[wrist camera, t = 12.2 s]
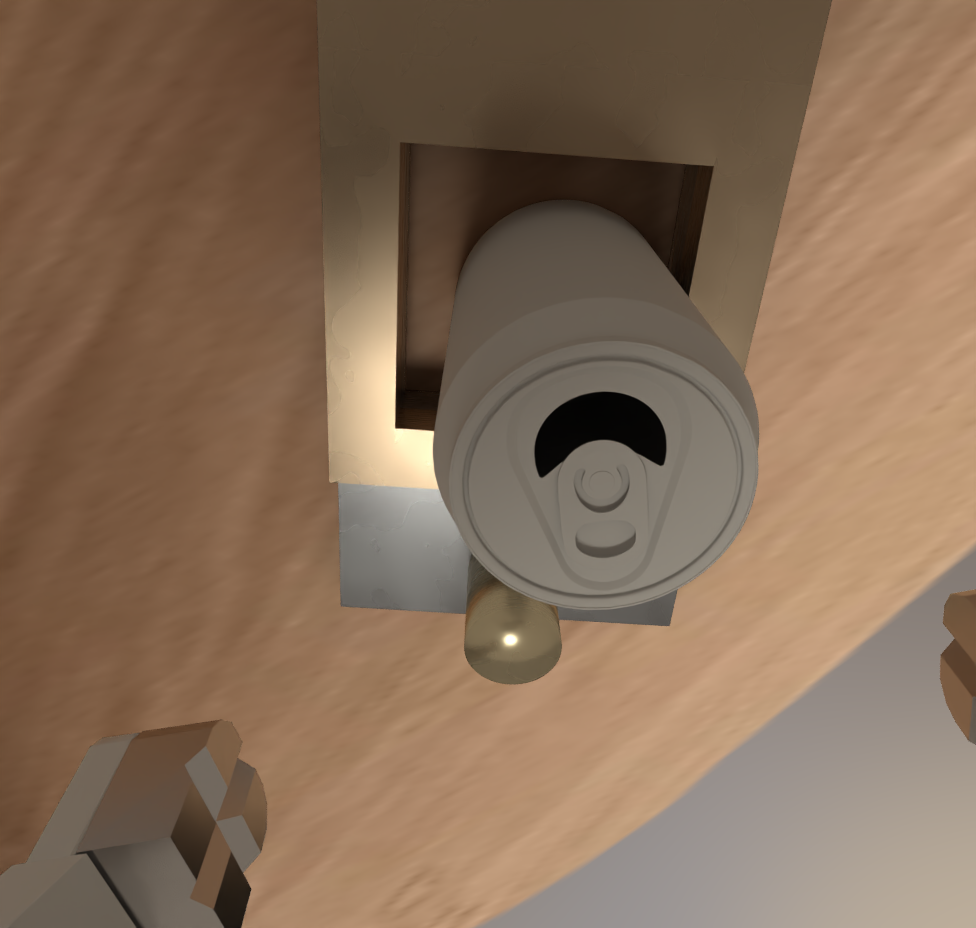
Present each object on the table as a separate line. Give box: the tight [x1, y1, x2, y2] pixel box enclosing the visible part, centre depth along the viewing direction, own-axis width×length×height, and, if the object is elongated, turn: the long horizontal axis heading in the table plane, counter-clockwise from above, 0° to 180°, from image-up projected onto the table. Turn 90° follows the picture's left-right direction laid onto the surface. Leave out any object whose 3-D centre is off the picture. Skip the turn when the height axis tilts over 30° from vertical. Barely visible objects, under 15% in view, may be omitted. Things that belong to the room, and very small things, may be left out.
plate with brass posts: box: [317, 0, 832, 684], centre depth 22 cm, size 24×12×7 cm, turn 176°
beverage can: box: [433, 200, 759, 610], centre depth 20 cm, size 6×6×12 cm
